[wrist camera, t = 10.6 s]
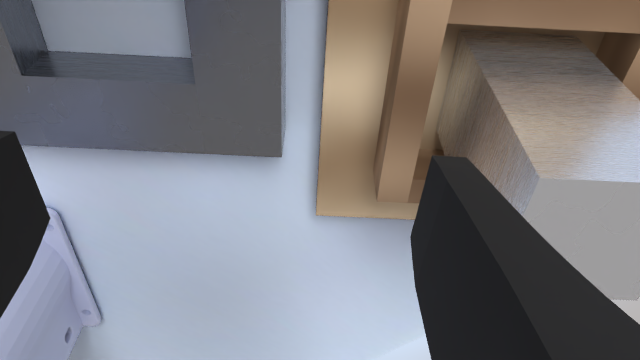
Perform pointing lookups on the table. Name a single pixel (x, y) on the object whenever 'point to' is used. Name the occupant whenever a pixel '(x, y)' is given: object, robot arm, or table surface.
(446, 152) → the brushed metal block
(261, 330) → the table surface
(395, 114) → the rack board
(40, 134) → the socket
